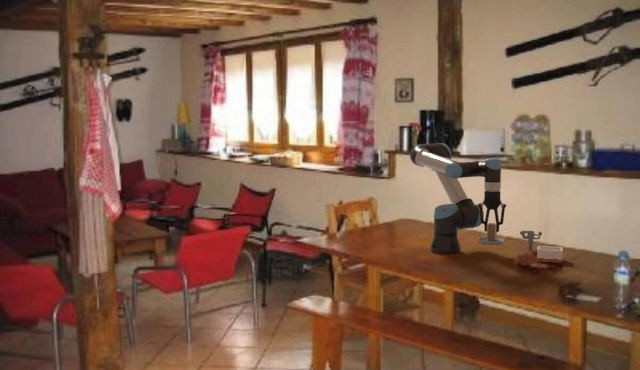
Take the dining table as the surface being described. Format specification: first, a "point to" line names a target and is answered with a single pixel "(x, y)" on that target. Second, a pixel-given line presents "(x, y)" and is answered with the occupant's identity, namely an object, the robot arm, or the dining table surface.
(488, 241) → the lid
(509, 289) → the dining table surface
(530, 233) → the mechanical component
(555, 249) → the box
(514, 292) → the dining table surface
